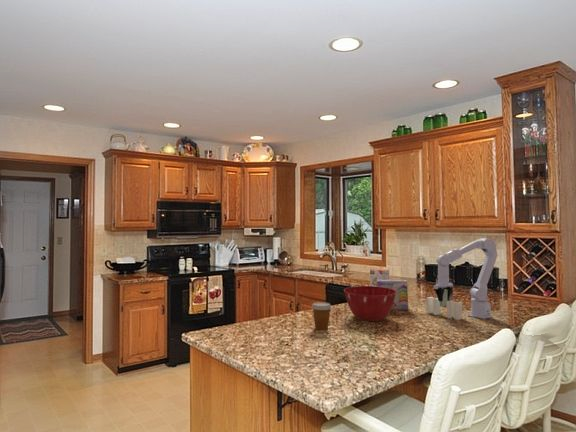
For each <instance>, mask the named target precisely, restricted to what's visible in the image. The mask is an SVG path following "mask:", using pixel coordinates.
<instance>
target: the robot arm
mask: <svg viewBox="0 0 576 432" xmlns="http://www.w3.org/2000/svg"><path fill="white" fill-rule="evenodd" d="M475 249H480V250H481V251H482V252H483V253H484V255H485V258H484V261H483V264H482V266H481V269H480V272H479V275H478V278H477V281H476V282H475V283H473V286H472V287H471V288H470V289H469V296H471V299H470V304H471V309H470V314H468V315H467V316H469V317H473V318H477V319H481V320H482V319H483V320H484V319H489V318H492V317H493V316H492V305H491V303H490V302H489V301H486V300H487V298H488V283H489V281H490V278H491V275H492V273H493V270H494V267H495V264H496V261H497V258H498V250H497V243H496V241H495V240H494V239H493V238H489V237H488V238H487V237H480V238H478V239H475V240H474V241H471V242H470V243H468V244H466V245H464V246H463V247H461V248H451V249H450V250H449V251H448V252H444V253H443V254H441V255H439V256H437V259H436V263H437V278H438V284H437V285H436V284H434V285H433V290H434V292H435V295H436V294H437V297H438V300H439V301H441V302H442V301H443V294H444V291H445V290H444V289H446V290H448V300H449V297H450V294H451V292H452V290H453V291H454V283H453V284H452V283H449V278H450V268H449V267H450V264H451V263H453V262H455V261H457V260H459V259H460V258H462V257H463V255H465V254H466V253H468V252H471V251H473V250H475ZM450 287H453V288H450ZM442 288H443V289H442Z"/></svg>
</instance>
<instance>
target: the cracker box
mask: <svg viewBox="0 0 576 432" xmlns="http://www.w3.org/2000/svg"><path fill="white" fill-rule="evenodd" d="M377 280H390V270H389V269H384V268H378V267H371V268H370V267H369V284H370V285H369V286H375V287H377Z"/></svg>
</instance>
